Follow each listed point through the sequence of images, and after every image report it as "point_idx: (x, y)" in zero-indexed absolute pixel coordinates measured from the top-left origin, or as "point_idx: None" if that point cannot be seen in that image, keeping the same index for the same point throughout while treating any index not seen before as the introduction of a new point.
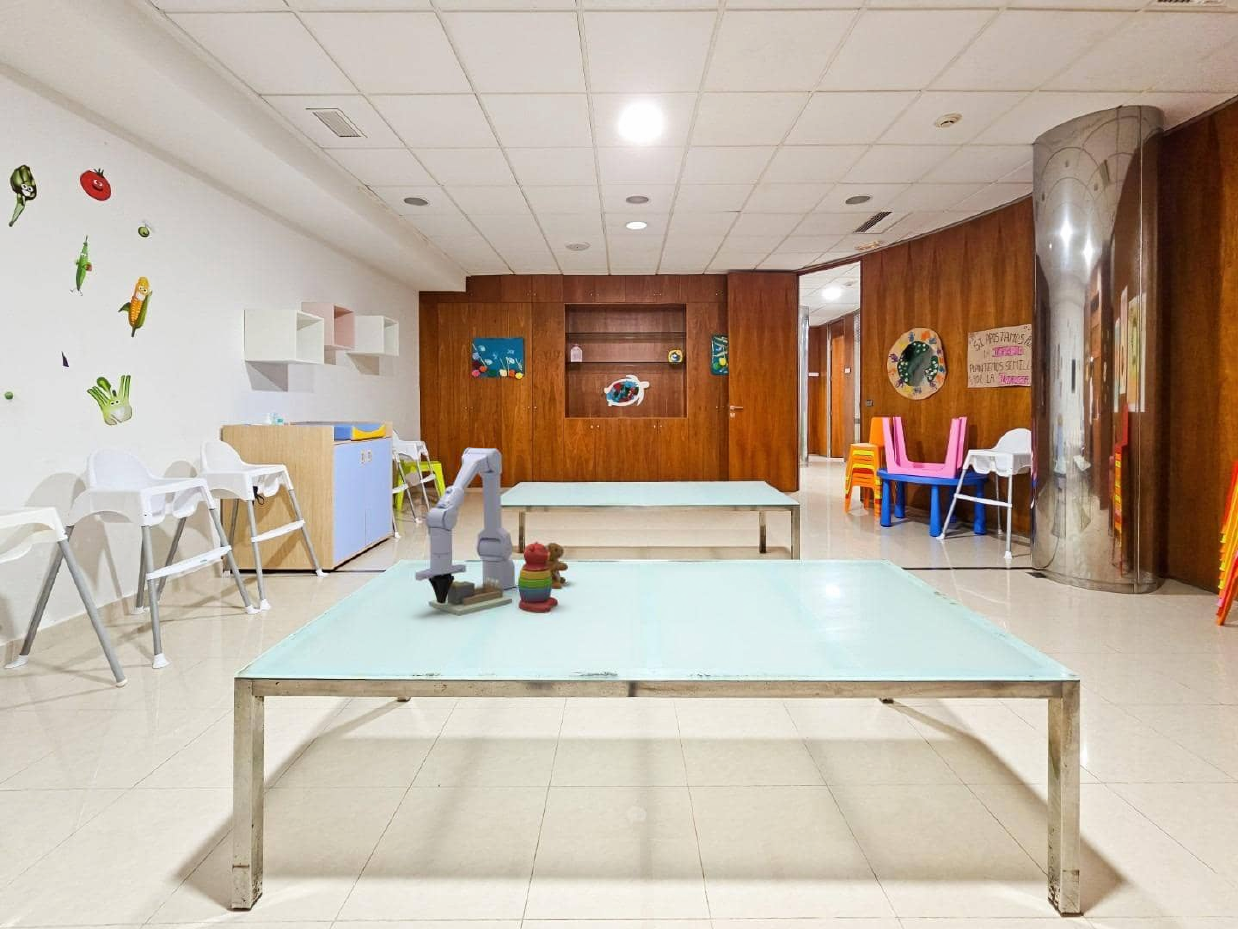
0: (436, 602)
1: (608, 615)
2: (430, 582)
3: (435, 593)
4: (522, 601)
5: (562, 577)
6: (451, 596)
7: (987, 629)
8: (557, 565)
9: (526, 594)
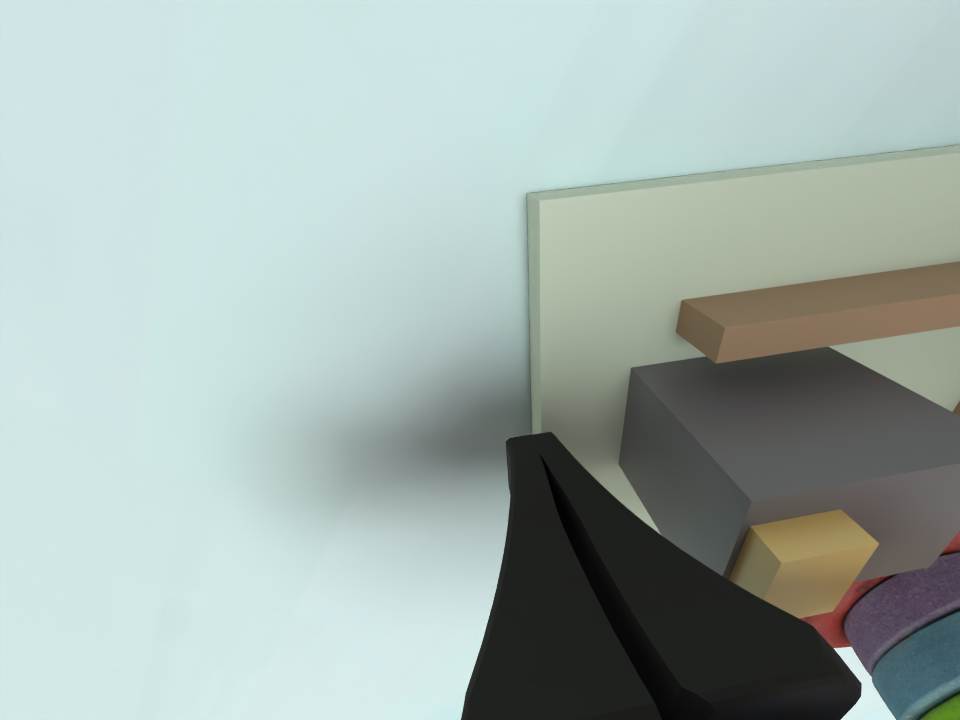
0: (568, 300)
1: (861, 685)
2: (482, 654)
3: (511, 507)
4: (853, 600)
5: None
6: (659, 458)
7: None
8: None
9: (873, 678)
